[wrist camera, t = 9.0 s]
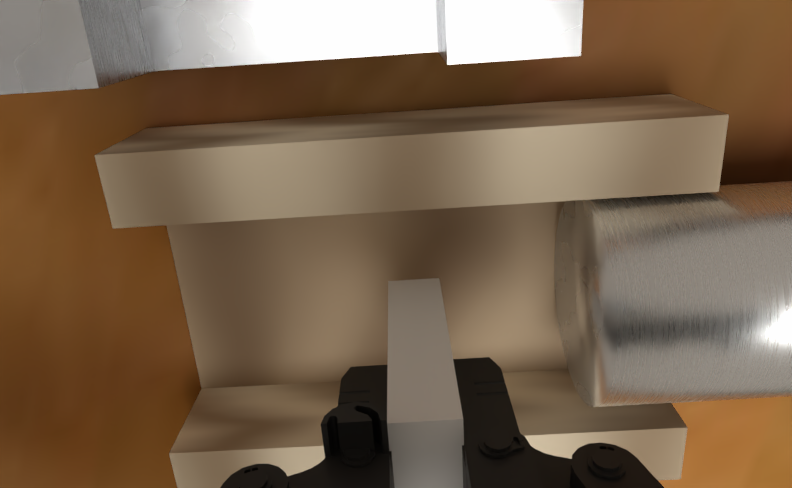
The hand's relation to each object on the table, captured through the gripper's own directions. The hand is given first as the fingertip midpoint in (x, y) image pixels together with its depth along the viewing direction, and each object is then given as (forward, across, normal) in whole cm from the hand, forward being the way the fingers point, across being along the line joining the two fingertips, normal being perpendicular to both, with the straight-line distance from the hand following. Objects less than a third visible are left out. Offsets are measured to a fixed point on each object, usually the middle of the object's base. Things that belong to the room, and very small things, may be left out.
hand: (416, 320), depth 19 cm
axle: (+2, +12, 0) cm, 12 cm away
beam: (+3, 0, 0) cm, 3 cm away
